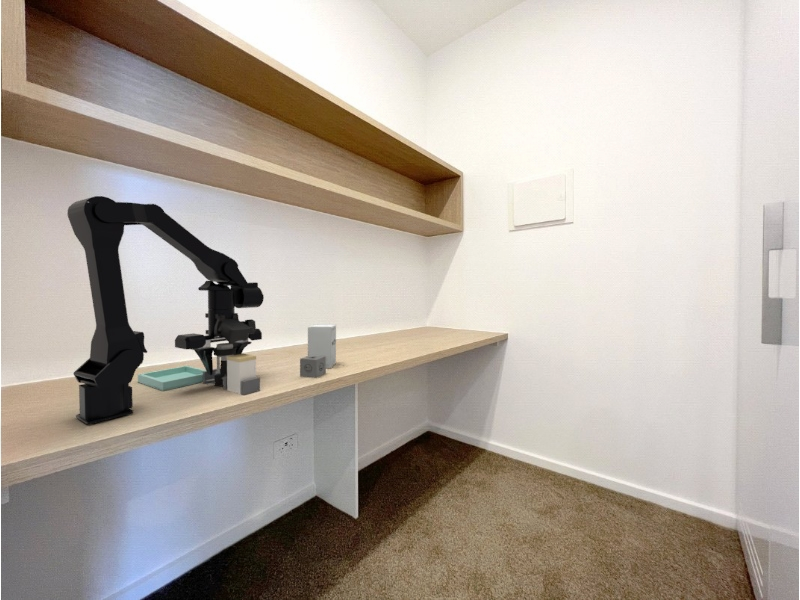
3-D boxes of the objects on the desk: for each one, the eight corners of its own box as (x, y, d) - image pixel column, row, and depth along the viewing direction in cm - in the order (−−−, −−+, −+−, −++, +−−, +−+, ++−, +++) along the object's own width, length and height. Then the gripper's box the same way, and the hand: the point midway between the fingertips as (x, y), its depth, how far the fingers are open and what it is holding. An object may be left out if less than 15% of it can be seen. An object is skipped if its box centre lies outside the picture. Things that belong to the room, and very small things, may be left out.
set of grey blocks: (243, 395, 73) (243, 381, 73) (202, 383, 82) (202, 371, 82) (259, 390, 76) (259, 377, 76) (218, 379, 86) (218, 368, 85)
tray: (163, 391, 76) (162, 382, 76) (137, 382, 83) (137, 374, 83) (213, 379, 86) (213, 372, 85) (187, 372, 93) (187, 365, 93)
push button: (206, 389, 77) (206, 347, 77) (206, 383, 82) (205, 343, 81) (238, 385, 81) (237, 344, 80) (236, 380, 85) (235, 341, 85)
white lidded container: (239, 394, 74) (239, 358, 74) (226, 390, 76) (226, 356, 76) (256, 389, 77) (256, 355, 77) (243, 386, 80) (243, 353, 80)
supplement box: (331, 368, 98) (331, 326, 98) (306, 368, 98) (306, 326, 98) (336, 363, 105) (336, 324, 105) (313, 363, 105) (313, 324, 105)
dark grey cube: (300, 376, 89) (300, 358, 89) (309, 372, 94) (309, 355, 94) (316, 378, 88) (316, 359, 88) (325, 373, 92) (325, 356, 92)
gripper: (199, 312, 68) (200, 386, 69) (275, 308, 84) (275, 368, 85) (173, 310, 74) (174, 379, 75) (248, 307, 90) (249, 363, 91)
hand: (222, 372), depth 81 cm, fingers open, 5 cm apart
